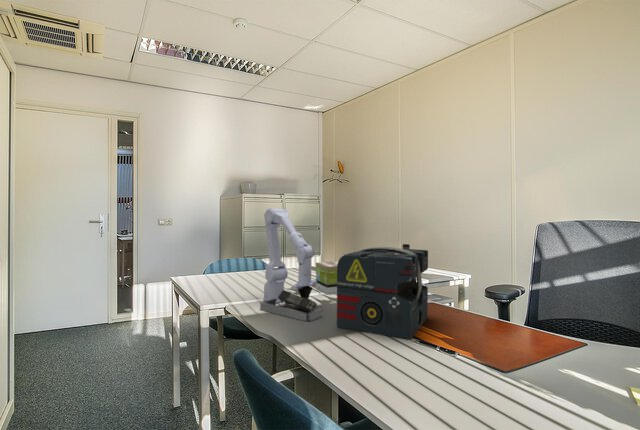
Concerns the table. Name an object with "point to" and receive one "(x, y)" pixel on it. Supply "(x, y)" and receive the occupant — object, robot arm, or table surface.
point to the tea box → (326, 277)
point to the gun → (297, 301)
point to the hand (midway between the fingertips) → (304, 303)
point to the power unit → (382, 291)
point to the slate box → (289, 311)
